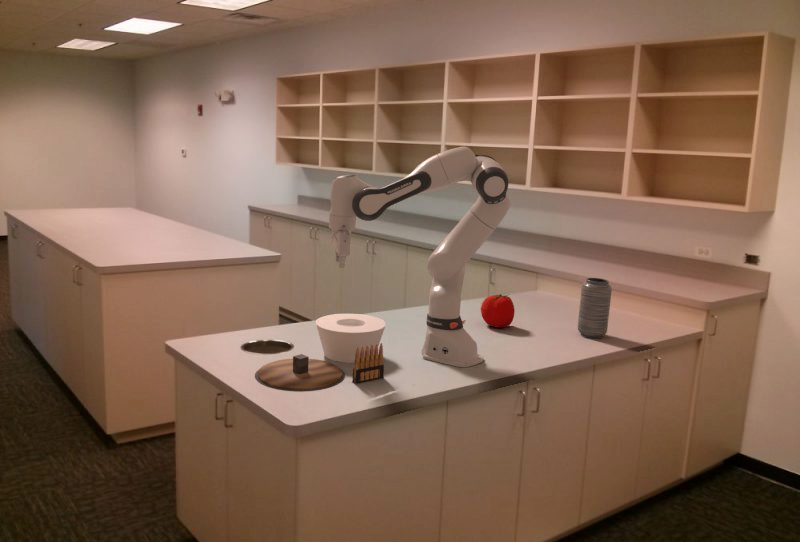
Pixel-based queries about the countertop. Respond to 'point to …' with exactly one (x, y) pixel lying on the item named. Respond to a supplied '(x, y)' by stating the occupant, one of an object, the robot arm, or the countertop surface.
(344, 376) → the mat
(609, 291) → the vase
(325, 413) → the countertop surface
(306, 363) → the lid
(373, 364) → the ammunition clip
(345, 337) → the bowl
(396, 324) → the countertop surface
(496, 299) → the tomato
